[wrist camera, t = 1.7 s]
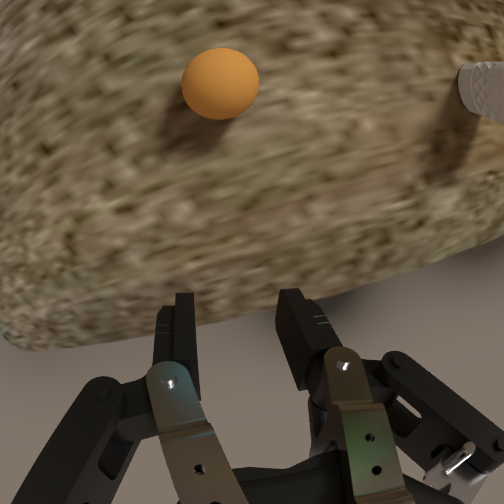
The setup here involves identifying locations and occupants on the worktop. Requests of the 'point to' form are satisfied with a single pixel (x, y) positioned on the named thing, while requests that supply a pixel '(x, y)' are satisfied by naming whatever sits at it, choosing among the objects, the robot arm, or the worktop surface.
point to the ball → (220, 83)
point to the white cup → (483, 89)
